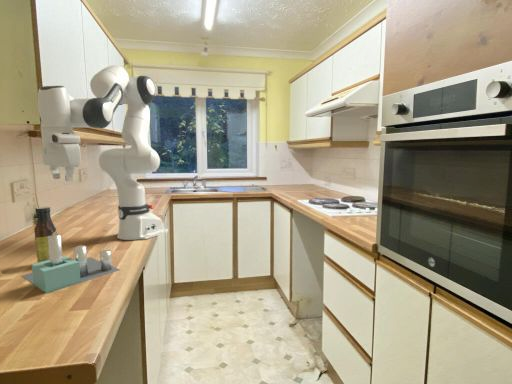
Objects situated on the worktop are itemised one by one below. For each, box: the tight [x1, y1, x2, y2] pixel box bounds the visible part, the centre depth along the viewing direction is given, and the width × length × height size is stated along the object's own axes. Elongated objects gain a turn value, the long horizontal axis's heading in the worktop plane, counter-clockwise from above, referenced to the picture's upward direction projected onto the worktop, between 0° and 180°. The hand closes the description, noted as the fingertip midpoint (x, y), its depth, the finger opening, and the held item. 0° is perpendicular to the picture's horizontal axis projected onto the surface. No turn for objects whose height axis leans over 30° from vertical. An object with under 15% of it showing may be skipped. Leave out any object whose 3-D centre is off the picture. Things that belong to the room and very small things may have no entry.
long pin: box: [48, 233, 64, 267], centre depth 92 cm, size 3×3×14 cm
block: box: [31, 255, 81, 294], centre depth 92 cm, size 9×9×6 cm
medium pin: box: [73, 244, 88, 278], centre depth 98 cm, size 3×3×9 cm
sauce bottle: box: [33, 206, 58, 263], centre depth 108 cm, size 7×6×20 cm
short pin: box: [99, 249, 113, 271], centre depth 103 cm, size 3×3×6 cm
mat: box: [21, 257, 121, 294], centre depth 101 cm, size 21×20×1 cm
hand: (62, 179), depth 106 cm, fingers open, 8 cm apart
